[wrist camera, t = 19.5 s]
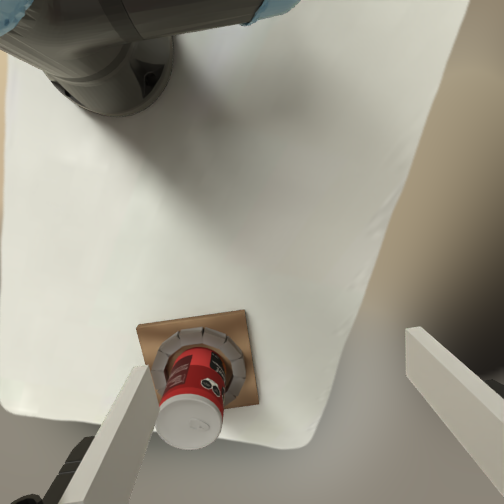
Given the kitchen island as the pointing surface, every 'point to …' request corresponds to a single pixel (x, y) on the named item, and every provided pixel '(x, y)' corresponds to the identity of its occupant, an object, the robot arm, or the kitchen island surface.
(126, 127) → the kitchen island surface
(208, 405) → the canned food
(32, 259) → the kitchen island surface
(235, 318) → the socket board
